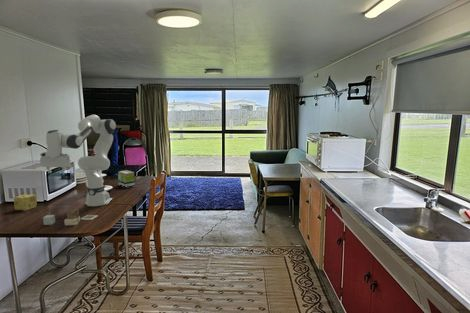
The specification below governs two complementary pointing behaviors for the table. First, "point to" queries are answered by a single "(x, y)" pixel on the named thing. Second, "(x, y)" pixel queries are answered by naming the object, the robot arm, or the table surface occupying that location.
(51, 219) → the grey cube
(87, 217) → the swatch
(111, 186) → the candlestick
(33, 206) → the cheese
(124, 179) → the tea box
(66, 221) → the oak base block
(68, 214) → the walnut cube
